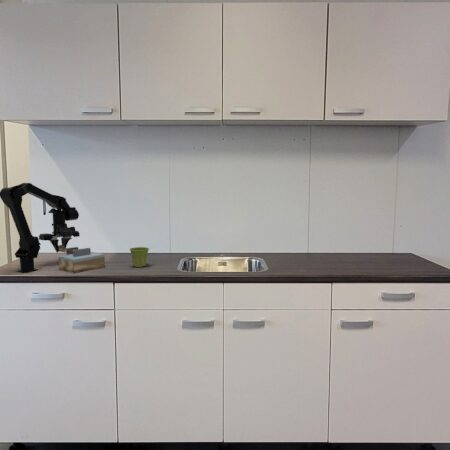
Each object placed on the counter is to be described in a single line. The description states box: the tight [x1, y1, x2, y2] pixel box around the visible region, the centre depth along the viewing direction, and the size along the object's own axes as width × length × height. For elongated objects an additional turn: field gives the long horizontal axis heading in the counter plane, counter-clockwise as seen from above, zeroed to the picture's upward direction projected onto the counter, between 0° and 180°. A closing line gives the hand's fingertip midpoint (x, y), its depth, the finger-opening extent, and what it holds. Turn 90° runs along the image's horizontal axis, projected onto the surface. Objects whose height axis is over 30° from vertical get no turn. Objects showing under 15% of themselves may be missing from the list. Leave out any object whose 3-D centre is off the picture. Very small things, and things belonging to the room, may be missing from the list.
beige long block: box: [58, 244, 73, 254], centre depth 184 cm, size 11×3×3 cm, turn 53°
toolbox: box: [58, 246, 106, 274], centre depth 176 cm, size 16×16×9 cm
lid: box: [58, 247, 106, 262], centre depth 175 cm, size 13×16×5 cm
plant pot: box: [129, 246, 150, 268], centre depth 180 cm, size 9×9×9 cm
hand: (60, 252), depth 187 cm, fingers closed on beige long block, 3 cm apart
